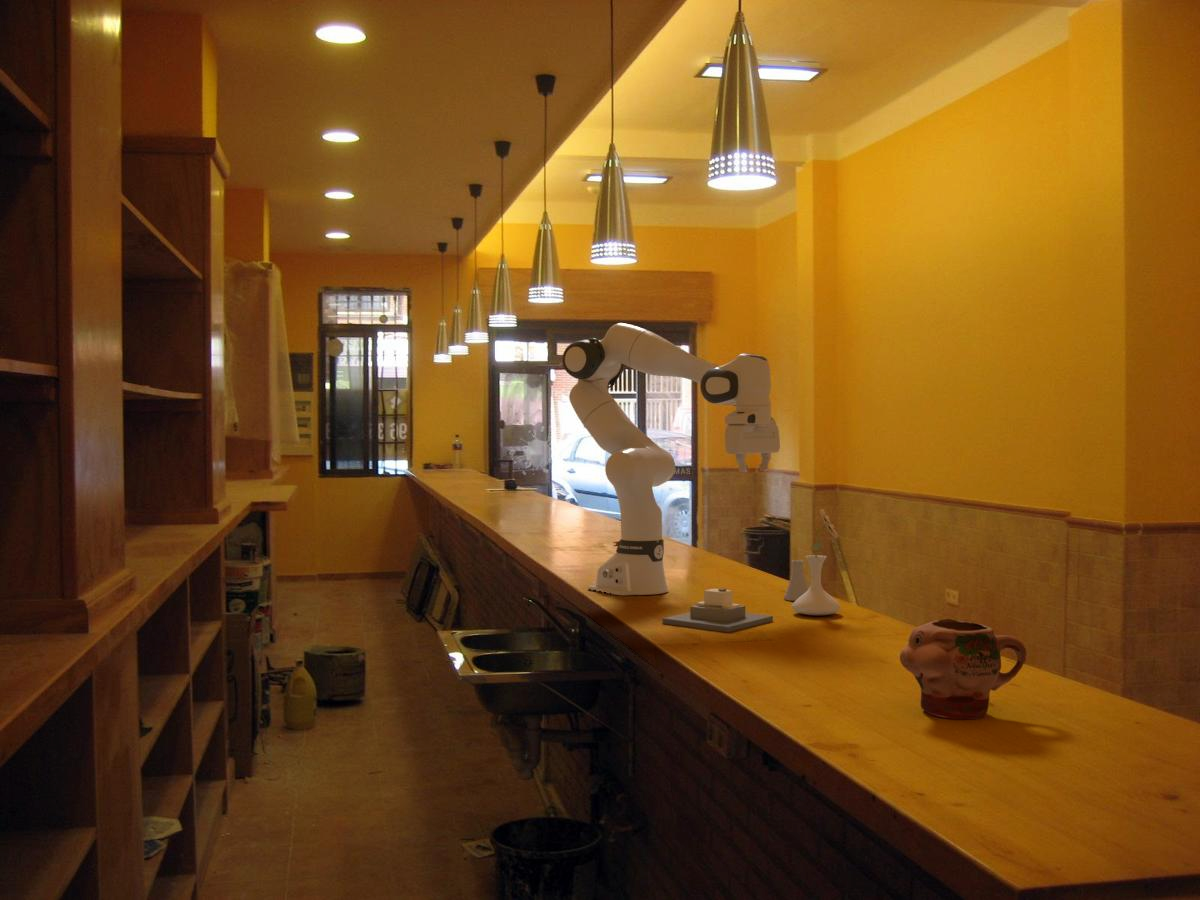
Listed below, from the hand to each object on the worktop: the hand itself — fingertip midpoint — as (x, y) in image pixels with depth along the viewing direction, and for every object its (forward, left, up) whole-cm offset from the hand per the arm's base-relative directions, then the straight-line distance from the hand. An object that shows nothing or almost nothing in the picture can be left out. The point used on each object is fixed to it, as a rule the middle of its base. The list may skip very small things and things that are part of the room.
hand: (753, 471), depth 291 cm
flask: (+8, +8, -33) cm, 35 cm away
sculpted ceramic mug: (+87, -74, -33) cm, 119 cm away
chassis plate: (+11, -32, -33) cm, 47 cm away
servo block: (+11, -32, -32) cm, 46 cm away
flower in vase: (+23, -8, -33) cm, 41 cm away
